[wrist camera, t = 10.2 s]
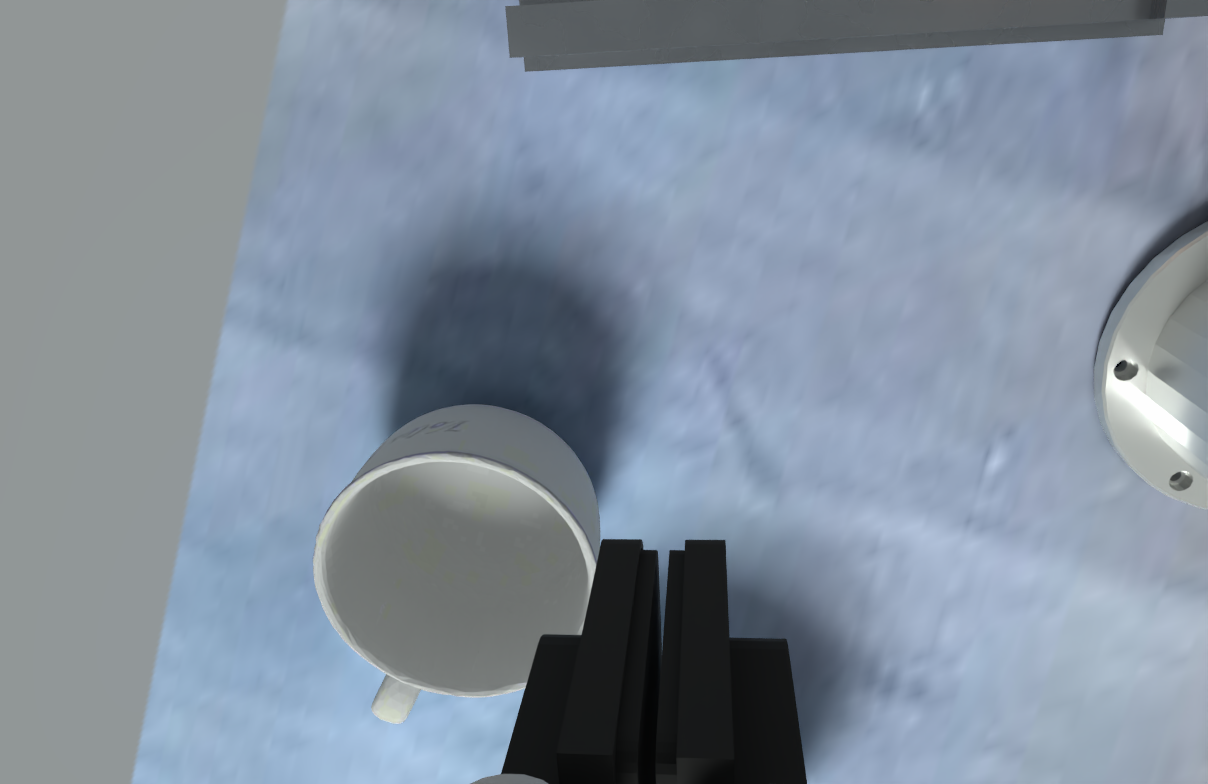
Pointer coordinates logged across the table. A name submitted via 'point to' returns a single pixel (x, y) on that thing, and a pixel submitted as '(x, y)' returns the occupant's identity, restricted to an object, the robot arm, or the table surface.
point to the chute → (807, 27)
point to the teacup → (459, 554)
